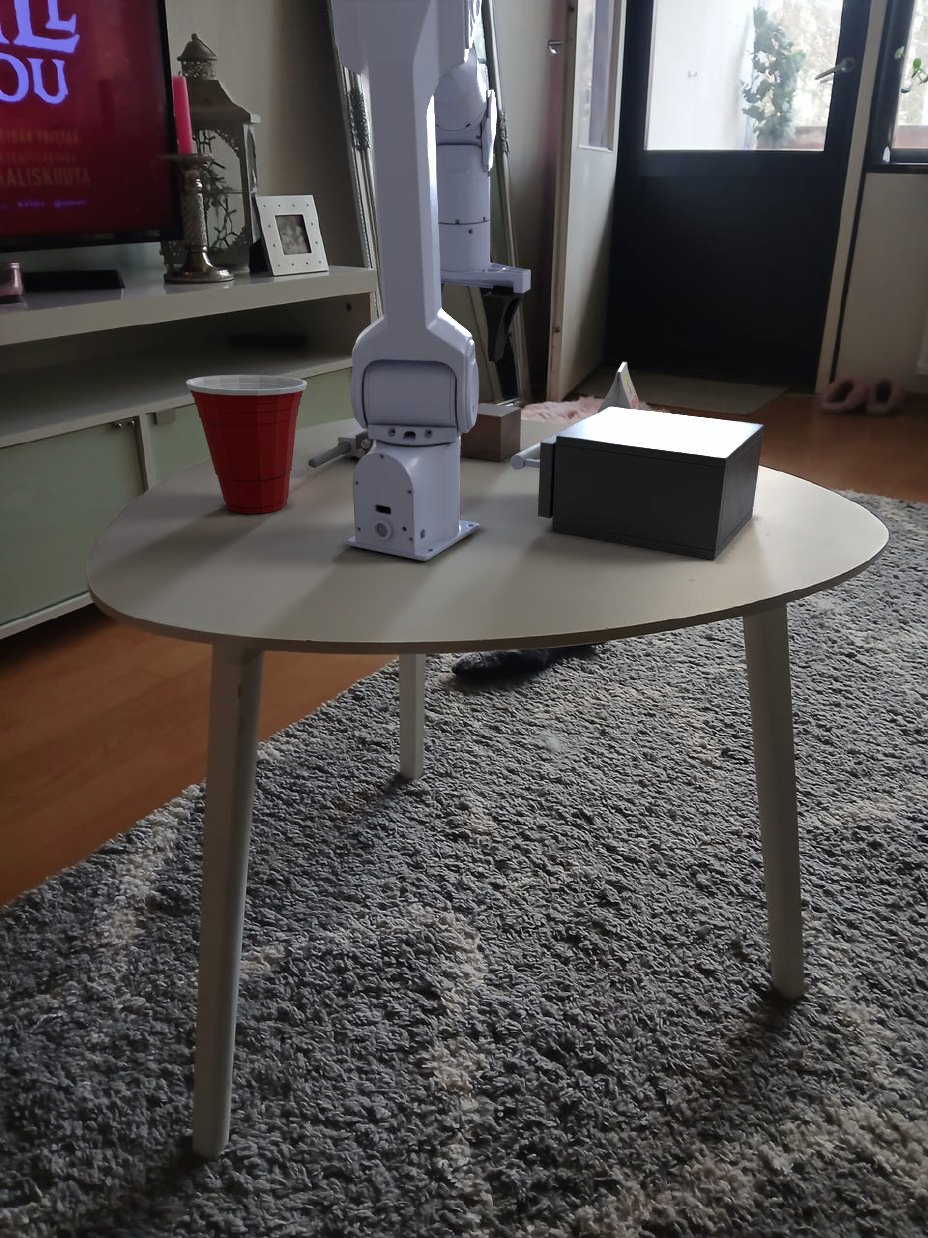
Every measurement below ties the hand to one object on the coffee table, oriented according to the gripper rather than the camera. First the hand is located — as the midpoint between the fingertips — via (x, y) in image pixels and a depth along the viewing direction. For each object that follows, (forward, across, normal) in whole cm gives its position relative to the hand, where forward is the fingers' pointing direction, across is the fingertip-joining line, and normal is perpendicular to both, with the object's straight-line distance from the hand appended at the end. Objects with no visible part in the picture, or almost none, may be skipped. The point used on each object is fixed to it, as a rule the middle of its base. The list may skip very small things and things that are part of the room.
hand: (463, 354), depth 104 cm
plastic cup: (+9, +9, +26) cm, 29 cm away
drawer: (+8, -22, +14) cm, 27 cm away
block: (+11, -3, -1) cm, 11 cm away
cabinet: (+9, -26, +14) cm, 31 cm away
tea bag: (+11, -16, -5) cm, 20 cm away
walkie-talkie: (+11, +7, +6) cm, 14 cm away
